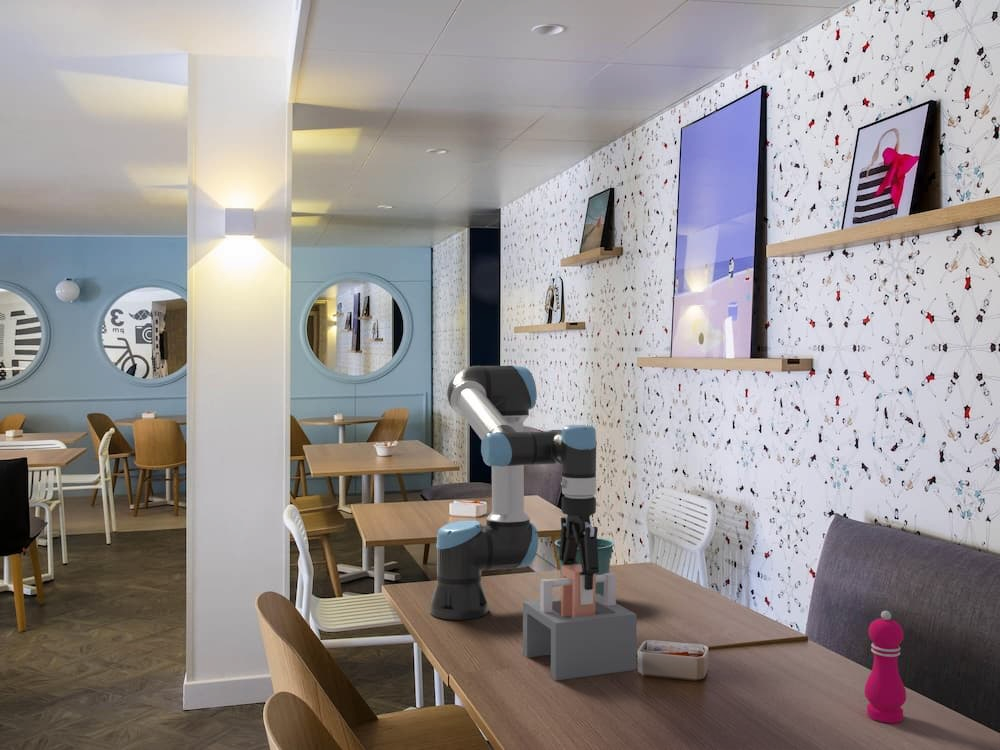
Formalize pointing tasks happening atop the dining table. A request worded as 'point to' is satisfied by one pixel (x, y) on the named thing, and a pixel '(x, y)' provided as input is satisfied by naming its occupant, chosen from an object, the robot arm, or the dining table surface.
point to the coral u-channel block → (575, 593)
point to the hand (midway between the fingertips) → (578, 598)
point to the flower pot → (603, 559)
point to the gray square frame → (580, 633)
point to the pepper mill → (885, 672)
